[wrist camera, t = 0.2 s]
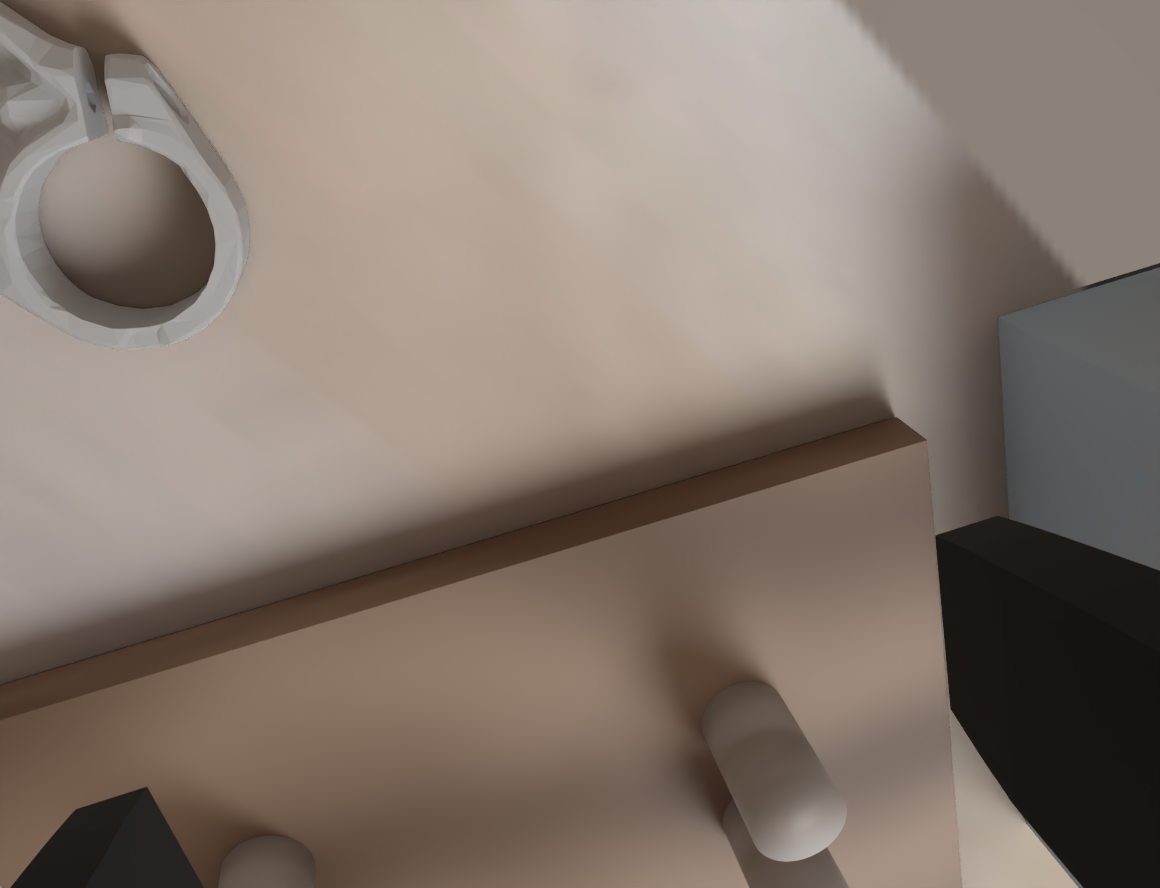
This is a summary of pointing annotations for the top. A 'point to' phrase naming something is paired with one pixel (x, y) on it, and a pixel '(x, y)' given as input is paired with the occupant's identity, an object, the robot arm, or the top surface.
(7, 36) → the bracket
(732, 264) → the top surface
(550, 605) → the peg stand
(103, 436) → the top surface
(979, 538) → the robot arm
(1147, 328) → the pale blue rectangular block
